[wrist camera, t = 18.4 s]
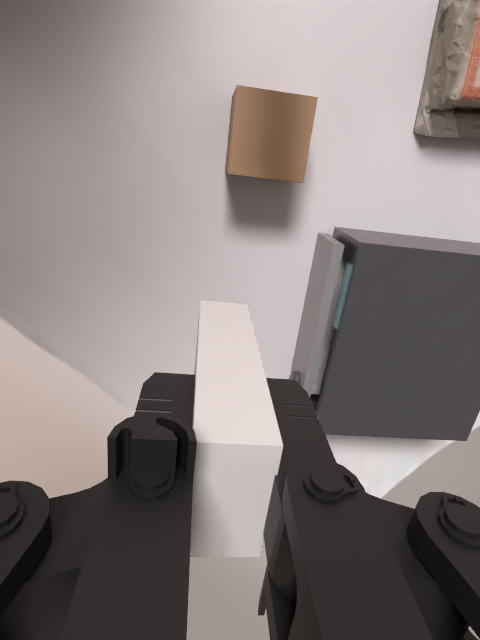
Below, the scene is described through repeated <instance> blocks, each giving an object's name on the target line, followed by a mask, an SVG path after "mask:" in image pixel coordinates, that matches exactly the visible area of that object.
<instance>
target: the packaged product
mask: <svg viewBox="0 0 480 640" xmlns="http://www.w3.org/2000/svg"><path fill="white" fill-rule="evenodd" d="M414 132H415V133H416V134H420V135H425V136H430V137H447V138H471V139H480V0H440V2H439V7H438V12H437V17H436V22H435V27H434V31H433V36H432V41H431V46H430V51H429V56H428V62H427V68H426V74H425V78H424V83H423V87H422V92H421V97H420V102H419V108H418V113H417V118H416V123H415V128H414Z"/></svg>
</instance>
